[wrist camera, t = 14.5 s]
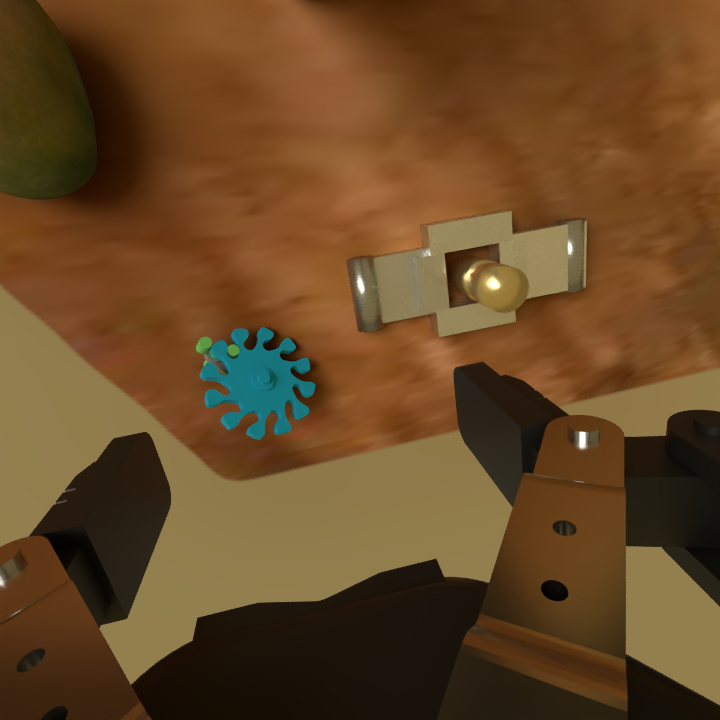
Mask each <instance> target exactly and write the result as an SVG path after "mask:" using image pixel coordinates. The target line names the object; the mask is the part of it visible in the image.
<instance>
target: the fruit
mask: <svg viewBox="0 0 720 720" xmlns="http://www.w3.org/2000/svg"><path fill="white" fill-rule="evenodd" d="M97 158H98V156H97V143H96V135H95V121H94V116H93V112H92V109H91V106H90V103H89V99H88V96H87V93H86V90H85V87H84V84H83V81H82V78H81V75H80V73H79V70H78V67H77V65H76V63H75V60H74V58H73V56H72V54H71V52H70V50H69V48H68V46H67V44H66V42H65V40H64V39H63V37H62V35H61V34H60V32H59V30H58V29H57V27H56V26H55V24H54V22H53V21H52V20H51V19H50V17H49V16H48V15H47V13H46V12H45V11H44V10H43V8H42V7H41V6H40V4H39V3H38V2H37V1H36V0H0V192H2V193H5V194H9V195H13V196H16V197H21V198H27V199H39V200H43V199H53V198H58V197H63V196H65V195H67V194H69V193H72V192H74V191H76V190H78V189H80V188H81V187H83V186H84V185H85V184H86V183H87V182H88V181H89V180H90V178H91V177H92V176H93V174H94V172H95V170H96V165H97Z"/></svg>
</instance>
